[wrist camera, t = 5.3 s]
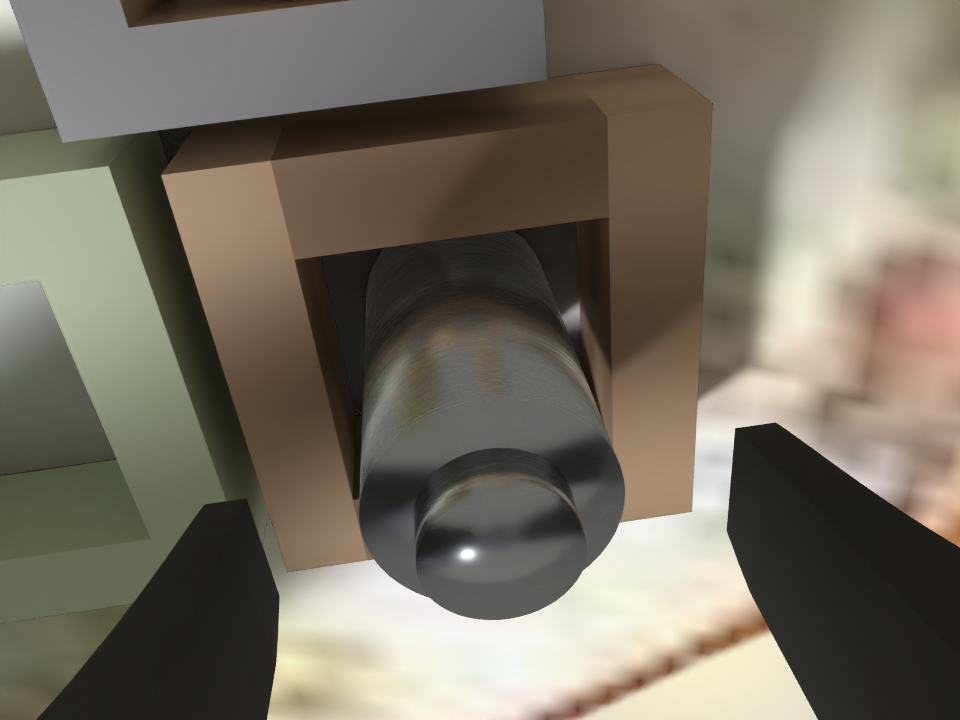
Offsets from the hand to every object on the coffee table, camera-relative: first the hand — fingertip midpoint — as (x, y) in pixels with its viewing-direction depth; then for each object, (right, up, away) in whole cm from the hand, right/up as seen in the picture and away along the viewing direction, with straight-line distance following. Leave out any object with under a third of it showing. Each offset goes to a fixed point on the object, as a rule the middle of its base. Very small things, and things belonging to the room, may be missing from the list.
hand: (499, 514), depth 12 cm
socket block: (-1, +4, +6) cm, 7 cm away
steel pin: (-1, +4, +6) cm, 7 cm away
